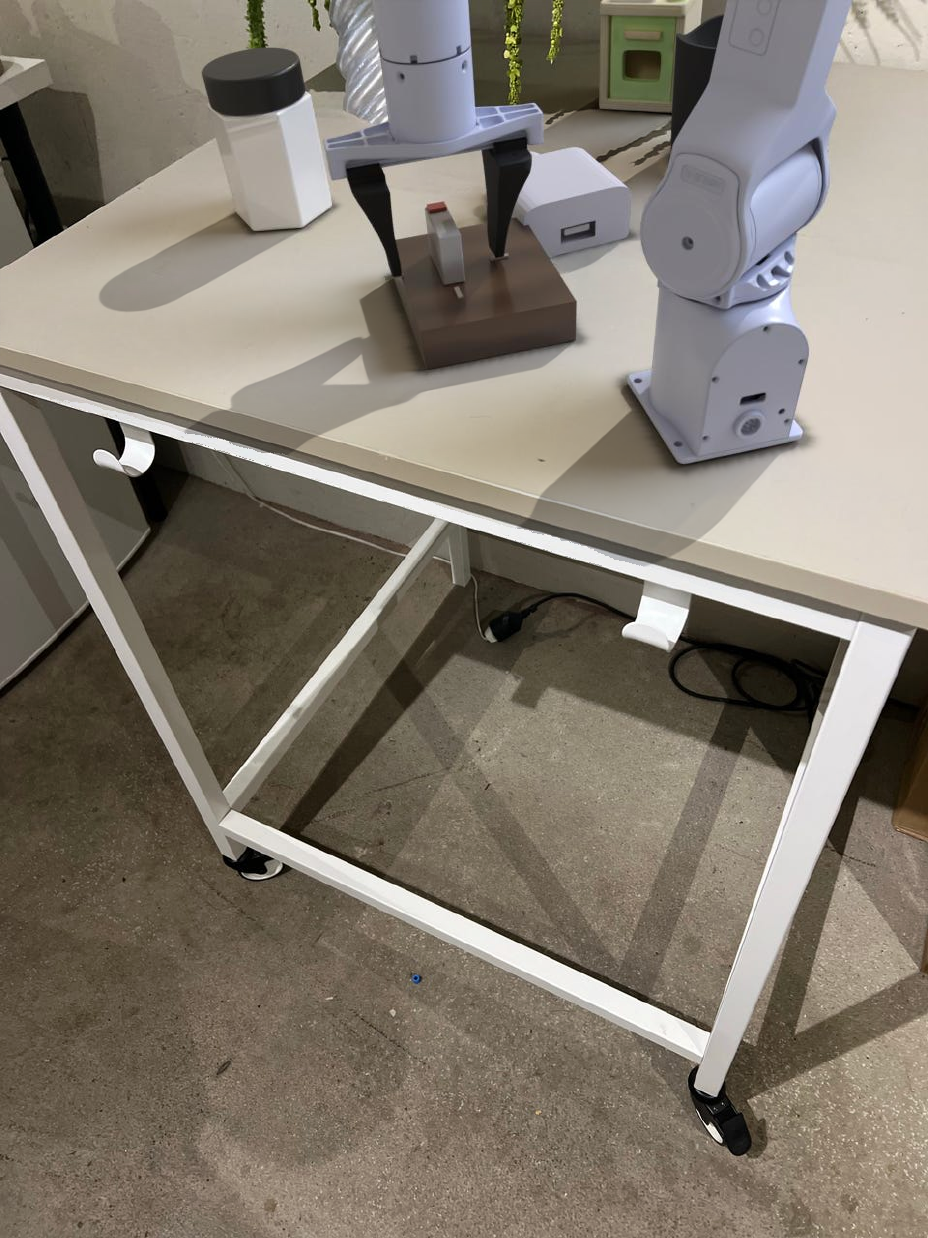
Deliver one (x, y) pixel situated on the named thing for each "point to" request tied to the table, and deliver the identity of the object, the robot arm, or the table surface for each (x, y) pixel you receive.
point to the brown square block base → (484, 298)
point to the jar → (267, 137)
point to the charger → (573, 202)
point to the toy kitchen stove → (641, 51)
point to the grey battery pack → (444, 243)
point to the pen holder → (692, 70)
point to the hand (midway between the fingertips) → (446, 260)
